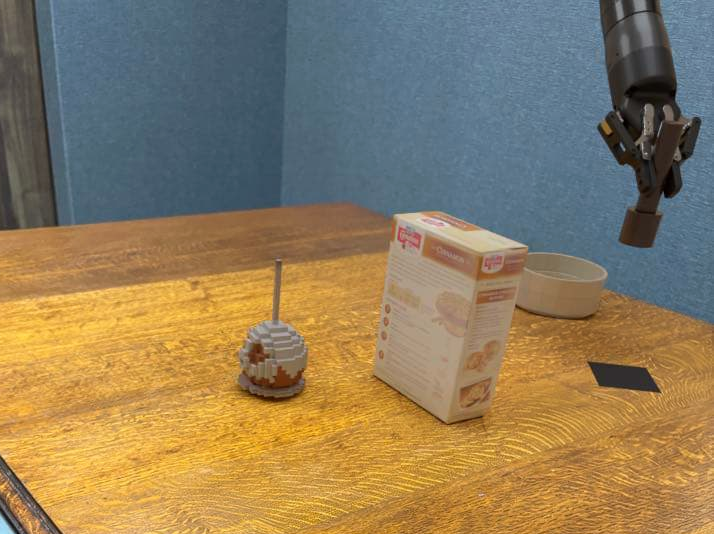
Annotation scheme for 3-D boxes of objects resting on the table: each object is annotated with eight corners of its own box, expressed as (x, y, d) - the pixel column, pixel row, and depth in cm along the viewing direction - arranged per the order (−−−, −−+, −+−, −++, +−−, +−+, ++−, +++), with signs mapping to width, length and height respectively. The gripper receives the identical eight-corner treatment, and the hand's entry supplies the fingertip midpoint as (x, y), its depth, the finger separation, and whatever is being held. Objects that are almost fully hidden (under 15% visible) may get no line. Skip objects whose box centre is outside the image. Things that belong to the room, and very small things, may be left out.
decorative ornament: (229, 376, 98) (232, 251, 90) (288, 370, 101) (297, 247, 93) (252, 405, 93) (258, 273, 84) (314, 397, 96) (326, 269, 87)
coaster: (645, 370, 110) (646, 367, 110) (660, 396, 104) (661, 392, 104) (586, 364, 111) (587, 361, 110) (598, 389, 104) (599, 385, 104)
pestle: (648, 240, 106) (686, 121, 98) (657, 249, 102) (697, 127, 94) (614, 236, 106) (649, 117, 98) (622, 246, 102) (659, 123, 94)
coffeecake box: (492, 414, 96) (532, 245, 84) (446, 426, 92) (481, 251, 81) (414, 365, 106) (440, 208, 94) (369, 374, 102) (391, 212, 91)
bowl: (587, 294, 136) (597, 257, 132) (605, 324, 124) (616, 285, 121) (502, 284, 136) (510, 248, 133) (512, 314, 125) (521, 275, 121)
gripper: (607, 39, 96) (630, 174, 94) (708, 47, 99) (732, 178, 97) (573, 83, 103) (593, 210, 101) (668, 90, 106) (690, 212, 104)
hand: (661, 194), depth 99 cm, fingers closed on pestle, 2 cm apart
